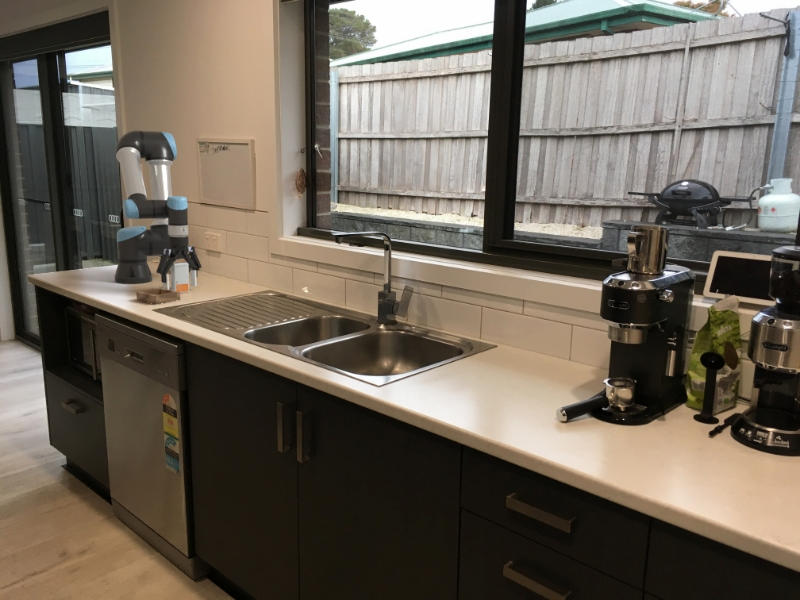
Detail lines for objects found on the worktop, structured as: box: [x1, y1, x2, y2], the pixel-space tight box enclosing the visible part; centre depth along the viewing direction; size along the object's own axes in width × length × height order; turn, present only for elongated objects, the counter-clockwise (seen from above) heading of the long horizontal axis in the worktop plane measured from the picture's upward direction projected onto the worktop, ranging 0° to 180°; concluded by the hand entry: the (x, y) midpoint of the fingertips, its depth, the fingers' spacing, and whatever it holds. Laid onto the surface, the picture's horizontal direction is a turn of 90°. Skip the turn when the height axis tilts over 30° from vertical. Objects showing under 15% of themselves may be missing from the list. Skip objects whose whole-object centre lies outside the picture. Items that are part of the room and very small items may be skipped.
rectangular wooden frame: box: [136, 287, 181, 305], centre depth 243 cm, size 11×11×3 cm
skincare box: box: [170, 261, 190, 294], centre depth 257 cm, size 6×4×12 cm
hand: (180, 288), depth 258 cm, fingers open, 13 cm apart
